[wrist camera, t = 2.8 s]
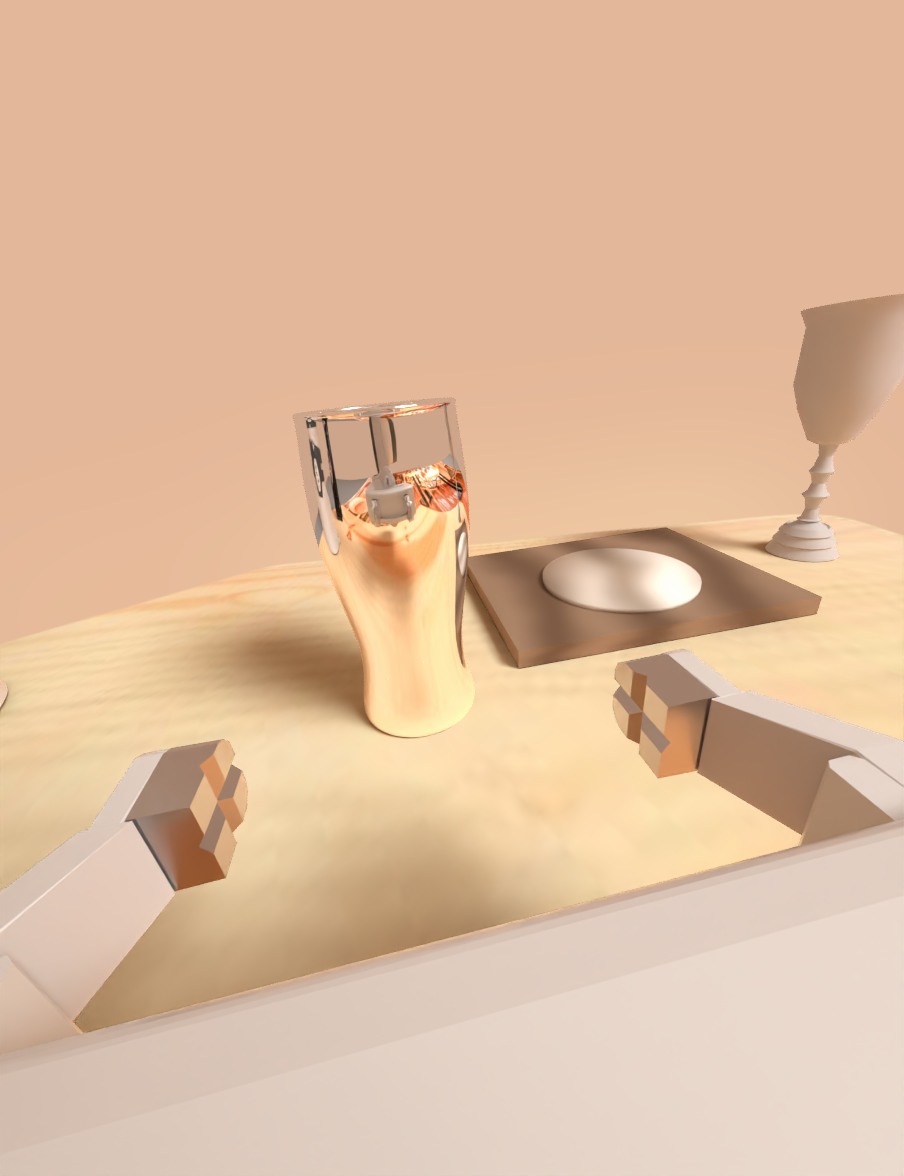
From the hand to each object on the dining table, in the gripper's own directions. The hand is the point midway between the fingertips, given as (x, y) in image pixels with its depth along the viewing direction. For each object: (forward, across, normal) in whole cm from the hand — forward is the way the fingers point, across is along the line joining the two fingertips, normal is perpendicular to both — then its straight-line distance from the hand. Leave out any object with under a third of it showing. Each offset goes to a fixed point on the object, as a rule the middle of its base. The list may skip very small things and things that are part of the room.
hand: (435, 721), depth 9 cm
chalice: (+22, -34, +9) cm, 41 cm away
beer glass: (+12, 0, +9) cm, 15 cm away
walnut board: (+21, -16, +9) cm, 28 cm away
